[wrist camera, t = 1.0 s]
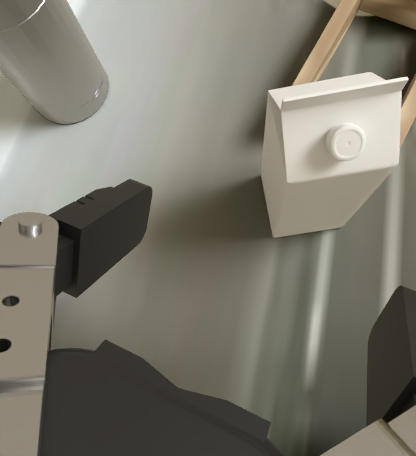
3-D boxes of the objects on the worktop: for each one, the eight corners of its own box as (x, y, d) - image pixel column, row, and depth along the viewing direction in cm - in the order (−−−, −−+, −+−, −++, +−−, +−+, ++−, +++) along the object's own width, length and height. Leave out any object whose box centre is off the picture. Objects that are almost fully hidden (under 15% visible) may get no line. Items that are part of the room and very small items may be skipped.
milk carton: (260, 174, 41) (271, 49, 23) (327, 163, 41) (391, 26, 23) (272, 238, 39) (294, 156, 21) (342, 227, 39) (427, 134, 21)
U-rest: (272, 134, 42) (275, 114, 39) (351, -5, 46) (361, -35, 42) (377, 181, 40) (391, 165, 36) (452, 30, 44) (472, 1, 40)
